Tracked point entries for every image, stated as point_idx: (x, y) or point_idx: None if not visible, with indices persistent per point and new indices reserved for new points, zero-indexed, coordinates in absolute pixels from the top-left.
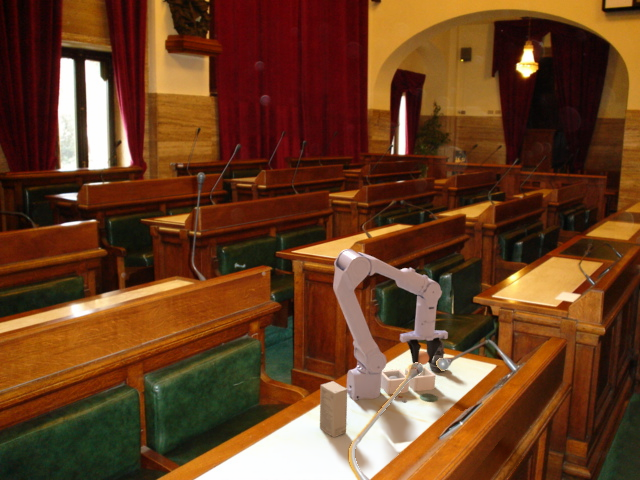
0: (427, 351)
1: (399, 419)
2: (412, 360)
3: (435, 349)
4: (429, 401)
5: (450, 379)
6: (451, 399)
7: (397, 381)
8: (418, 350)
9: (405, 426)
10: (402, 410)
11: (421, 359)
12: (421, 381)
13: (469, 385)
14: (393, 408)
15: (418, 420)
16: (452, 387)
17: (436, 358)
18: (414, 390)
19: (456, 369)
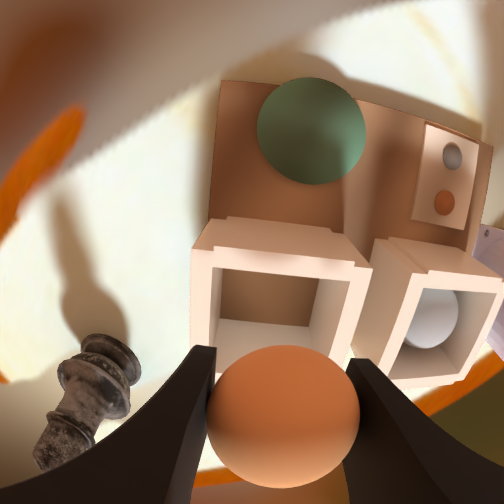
0: (194, 469)
1: (492, 81)
2: None
3: (116, 465)
4: (337, 91)
5: (76, 306)
6: (163, 123)
7: (471, 271)
8: (446, 474)
9: (490, 36)
10: (459, 128)
11: (343, 384)
12: (314, 246)
13: (29, 232)
14: None
15: (438, 31)
16: (94, 239)
17: (92, 411)
18: (342, 235)
19: (40, 353)
